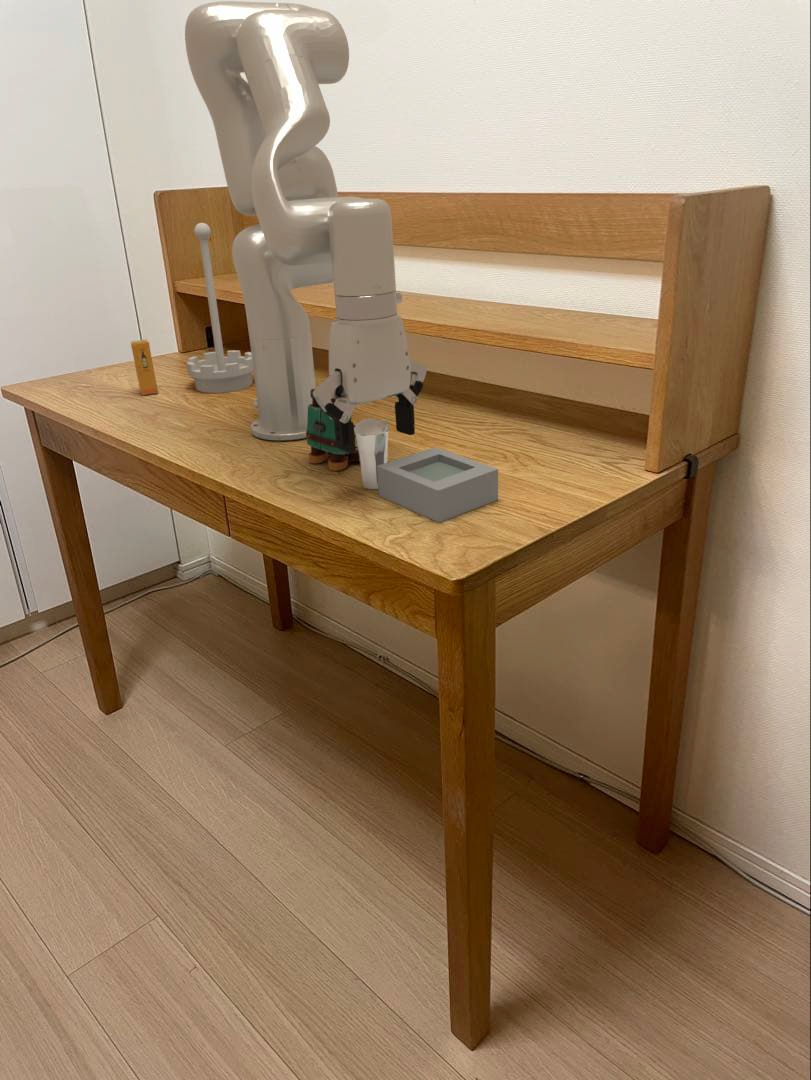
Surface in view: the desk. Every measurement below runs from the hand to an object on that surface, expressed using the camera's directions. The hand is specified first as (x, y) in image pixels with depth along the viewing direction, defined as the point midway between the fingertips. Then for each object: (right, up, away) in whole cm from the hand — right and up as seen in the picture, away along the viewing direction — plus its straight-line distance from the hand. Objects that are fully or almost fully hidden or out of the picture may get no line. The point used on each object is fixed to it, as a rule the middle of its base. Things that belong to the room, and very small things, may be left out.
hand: (376, 441), depth 110 cm
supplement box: (-46, +15, +52) cm, 71 cm away
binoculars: (-5, -1, +14) cm, 15 cm away
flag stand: (-32, +17, +55) cm, 66 cm away
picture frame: (+8, -7, -1) cm, 11 cm away
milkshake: (0, -6, +4) cm, 7 cm away
